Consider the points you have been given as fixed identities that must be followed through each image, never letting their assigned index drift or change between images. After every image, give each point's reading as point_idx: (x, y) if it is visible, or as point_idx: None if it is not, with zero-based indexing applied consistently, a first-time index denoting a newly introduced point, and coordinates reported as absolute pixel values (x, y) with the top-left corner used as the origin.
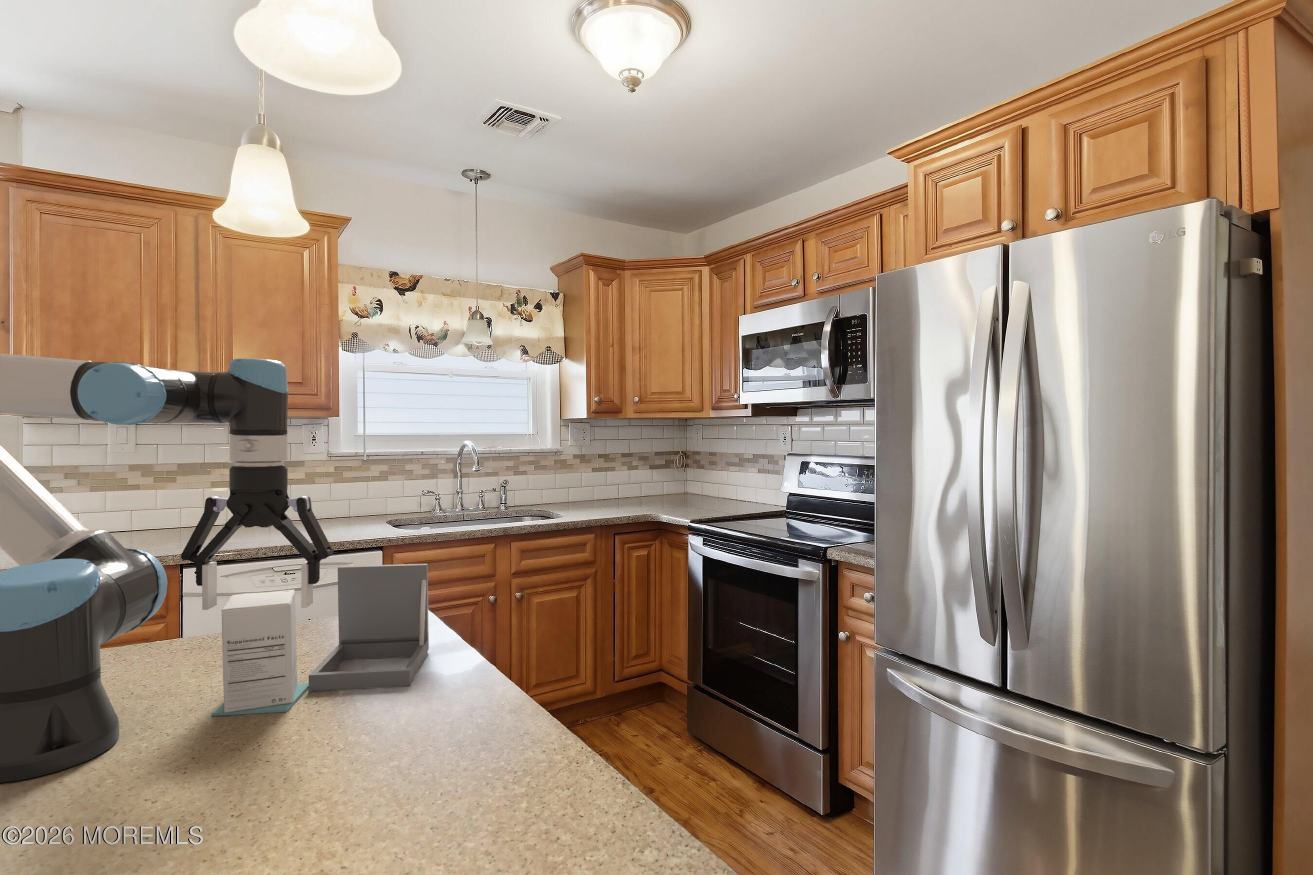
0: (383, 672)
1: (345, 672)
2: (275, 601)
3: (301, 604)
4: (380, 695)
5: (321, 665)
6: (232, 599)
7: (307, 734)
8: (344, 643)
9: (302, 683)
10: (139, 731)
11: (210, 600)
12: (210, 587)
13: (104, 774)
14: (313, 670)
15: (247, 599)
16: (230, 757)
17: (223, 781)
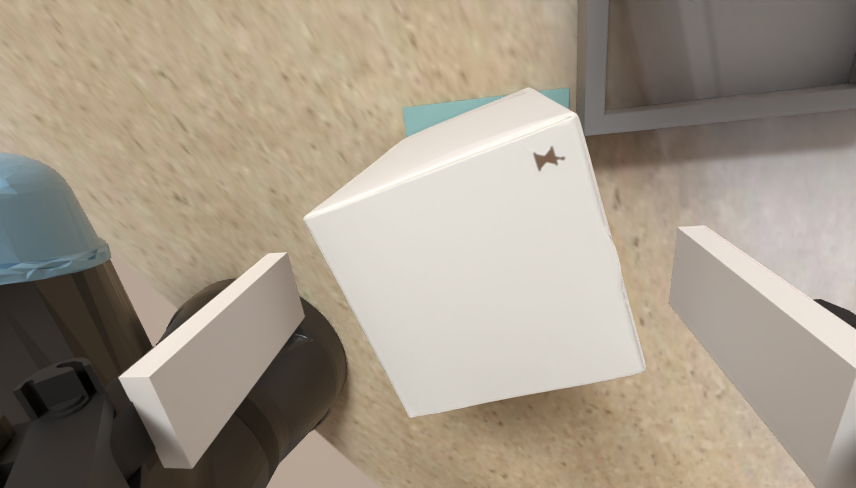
0: (812, 112)
1: (689, 115)
2: (573, 352)
3: (676, 311)
4: (776, 164)
5: (597, 50)
6: (358, 295)
7: (644, 339)
8: None
9: (547, 92)
10: (340, 299)
11: (286, 315)
12: (257, 348)
13: (395, 413)
14: (585, 95)
15: (430, 313)
16: (543, 395)
17: (567, 450)
